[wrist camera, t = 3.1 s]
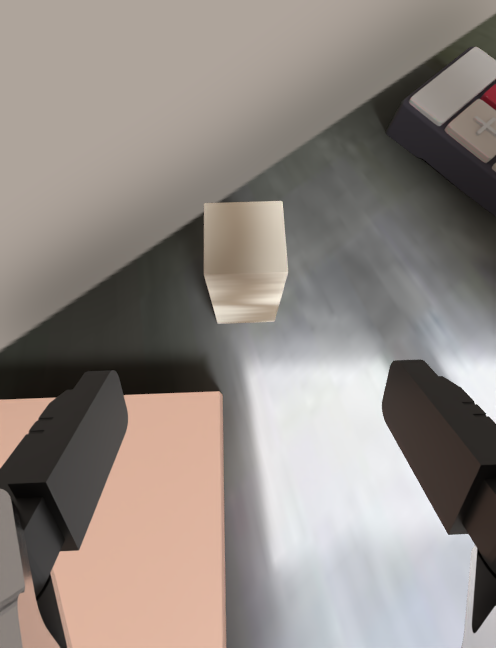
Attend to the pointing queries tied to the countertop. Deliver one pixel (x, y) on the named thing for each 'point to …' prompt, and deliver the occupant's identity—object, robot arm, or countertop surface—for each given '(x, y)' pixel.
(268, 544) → the countertop surface
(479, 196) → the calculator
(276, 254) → the ash block
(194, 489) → the plinth
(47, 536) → the robot arm
